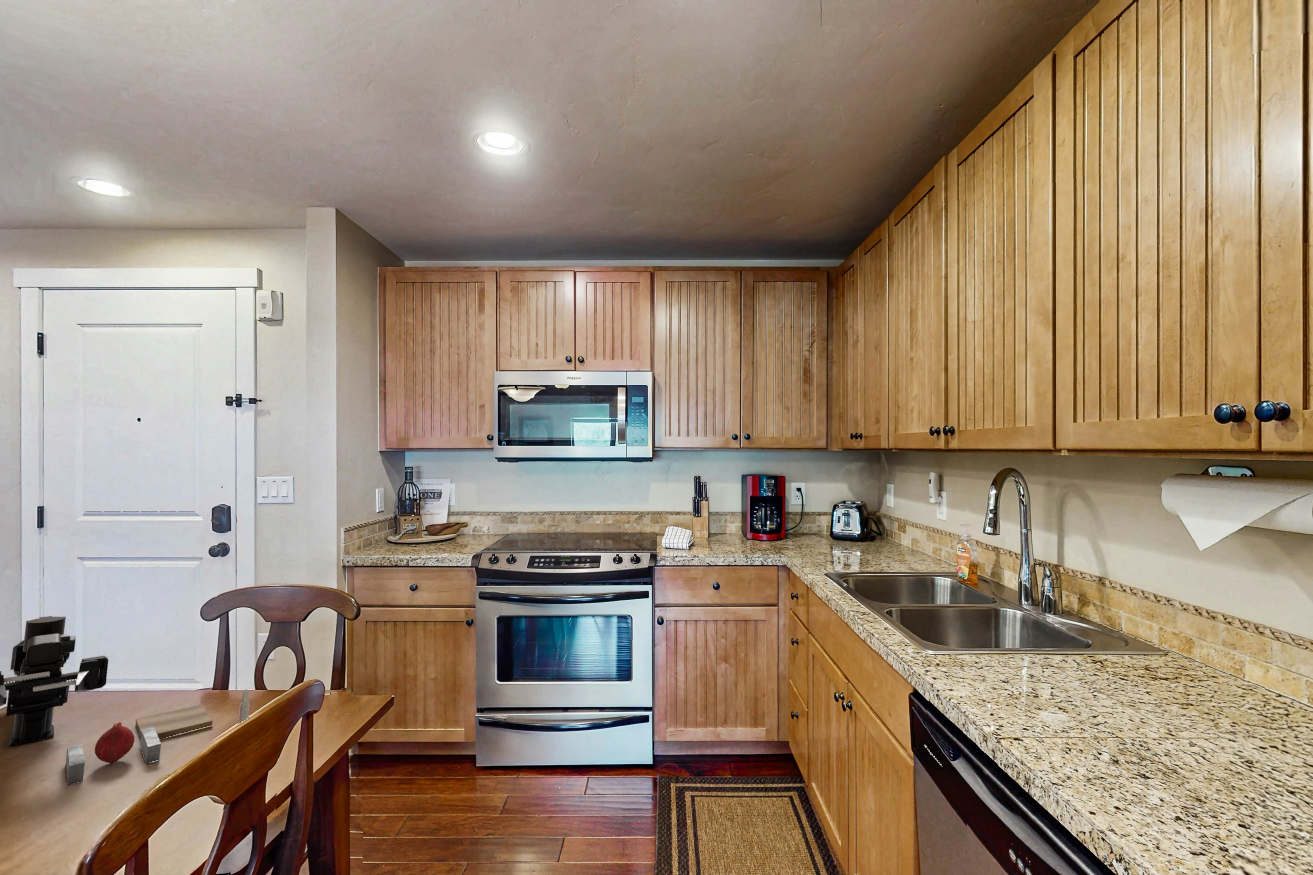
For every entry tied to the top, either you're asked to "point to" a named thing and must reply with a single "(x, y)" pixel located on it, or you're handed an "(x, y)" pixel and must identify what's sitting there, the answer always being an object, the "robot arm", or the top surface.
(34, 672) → the robot arm
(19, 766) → the top surface
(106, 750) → the onion
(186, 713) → the tan board
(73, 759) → the twin grey rails
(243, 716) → the screw
